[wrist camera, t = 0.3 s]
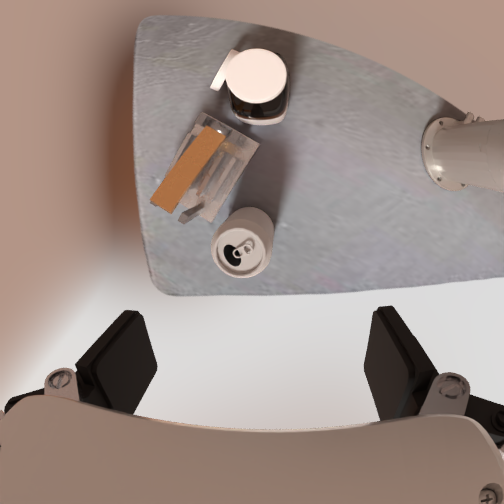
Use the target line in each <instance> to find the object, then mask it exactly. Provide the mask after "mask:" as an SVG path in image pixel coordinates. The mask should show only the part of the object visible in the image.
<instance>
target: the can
mask: <svg viewBox="0 0 504 504" xmlns="http://www.w3.org/2000/svg"><path fill="white" fill-rule="evenodd" d="M273 238H274V226H273V223H272V220H271V219H270V218H269V216H268V215H267V214H266V213H265V212H263V211H262V210H260V209H258V208H255V207H244V208H241V209H238V210H237V211H235V212H234V213H232V214H231V215H230V216H229V217H228V218H227V220H226V221H225V222H224V223H223V224H222V225H221V226H220V227H219V228H218V229H217V231H216V232H215V234H214V235H213V238H212V242H211V254H212V256H213V259H214V262H215V263H216V264H217V266H218V267H219V268H220V269H221V270H222V271H223V272H225V273H226V274H227V275H230V276H233V277H235V278H248V277H252V276H255V275H257V274H258V273H260V272H262V271H263V270H264V269H265V267H266V266H267V265H268V264H269V261H270V258H271V255H272V247H273Z"/></svg>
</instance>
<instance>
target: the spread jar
mask: <svg viewBox="0 0 504 504" xmlns="http://www.w3.org/2000/svg"><path fill="white" fill-rule="evenodd" d="M225 79H226V82H227V85H228V95H229V101H230V105H231V108H232V111H233V113H234V115H235V116H236V117H237V118H238V119H239V120H240V121H242V122H244V123H247V124H252V125H271V124H276V123H279V122H281V121H282V120H283V119H284V117H285V115H286V111H287V106H288V98H289V90H290V84H289V72H288V67H287V64H286V61H285V59H284V58H283V56H281V55H280V54H278V53H274V52H271V51H268V50H265V49H249V50H245V51H243V52H241V53H240V52H238V51H235V50H233V49H231V51H230V52H229V54H228V56H227V57H226V59H225V61H224V62H223V64H222V66H221V68H220V69H219V71H218V73H217V75H216V77H215V79H214V80H213V82H212V84H211V87H210V88H211V89H214V90H216V91H219V89H220V88H221V86H222V84H223V82H224V81H225Z"/></svg>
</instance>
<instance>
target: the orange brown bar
mask: <svg viewBox="0 0 504 504" xmlns="http://www.w3.org/2000/svg"><path fill="white" fill-rule="evenodd" d="M231 132H232V129H231V128H230V127H228V126H226V125H224V124H222V123H221V122H219V121H217V120H215V119H213V118H211V119H210V120H209V122H208V123H207V125H206V127H205V128H204V129H203V130H202V131H201V133H200V134H199V135H198V136H197V137H196V139H195V140H194V141H193V142H192V144H191V145H190V146H189V147H188V149H187V150H186V151H185V152H184V154H183V155H182V156H181V158H180V159H179V160H178V161H177V163H176V164H175V165H174V167H173V168H172V169H171V171H170V172H169V173H168V175H167V176H166V178H165V179H164V180H163V182H162V183H161V184H160V186H159V187H158V189H157V190H156V192H155V193H154V194H153V196H152V197H151V199H150V200H151V202H153V203H154V204H156V205H158V206H159V207H161V208H162V209H164V210H165V211H167V212H169V213H170V214H172V212H173V211H174V209H175V208H176V206H177V205H178V203H179V202H180V201H181V199H182V198H183V196H184V195H185V193H186V192H187V191H188V189H189V188H190V186H191V185H192V183H193V182H194V181H195V179H196V178H197V177H198V175H199V174H200V172H201V171H202V170H203V168H204V167H205V166H206V164H207V163H208V162H209V160H210V159H211V158H212V156H213V155H214V154H215V152H216V151H217V150H218V148H219V147H220V146H221V145H222V143H223V142H224V141H225V139H227V138H228V137H229V135H230V134H231Z"/></svg>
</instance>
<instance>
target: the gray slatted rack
mask: <svg viewBox="0 0 504 504" xmlns="http://www.w3.org/2000/svg"><path fill="white" fill-rule="evenodd" d="M211 118H213V117H211V116H209V115H207V114H205V113H202V112H201V113H200V115H199V116H198V118H197V119H196V121H195V123H196V124H195V126H194V128H193V129H192V131H191V133H188V134H187V136H186V138H185V139H184V141H183V143H182V145H181V146H180V148H179V150H178V152H177V154H176V155H175V157H174V159H173V161H172V163H171V165H170V167H169V168H168V170H167V172H166V174H165V176H167V175H168V173H169V172H170V171H171V169H172V168H173V167H174V165H175V164H176V163H177V161H178V160H179V159H180V158H181V156H182V155H183V154H184V152H185V151H186V150H187V149H188V147H189V146H190V145H191V144H192V142H193V141H194V140H195V139H196V137H197V136H198V135H199V134H200V133H201V131H202V130H203V129H204V128H205V127H206V125H207V123H208V122H209V120H210V119H211ZM213 119H215V118H213ZM215 120H216V119H215ZM217 121H218V120H217ZM219 122H220V121H219ZM221 123H222V122H221ZM222 124H224V123H222ZM224 125H226V124H224ZM226 126H227V125H226ZM228 127H229V126H228ZM230 128H231V127H230ZM231 129H232V132H231V134H230V135H229V137H228V138H227V139H225V141H224V142H223V143H222V145H221V146H220V147H219V148H218V150H217V151H216V152H215V154H214V155H213V156H212V158H211V159H210V160H209V162H208V163H207V164H206V166H205V167H204V168H203V170H202V171H201V172H200V174H199V175H198V177H197V178H196V179H195V181H194V182H193V183H192V185H191V186H190V188H189V189H188V191H187V192H186V193H185V195H184V196H183V198H182V199H181V201H180V202H179V203H181V204H182V205H184V206H186V207H187V208H189V209H188V210H186V211H184V212H183V213H182V214H181V216H180V217H179V219H178V221H179V222H181V223H182V224H186V223H187V222H189V221H190V220H192V219H193V218H195V217H196V216H198V215H200V216H202V217H203V218H205V219H206V220H208V221H210V222H213V220H214V218H215V217H216V215H217V213H218V212H219V210H220V208H221V207H222V205H223V203H224V202H225V200H226V198H227V197H228V195H229V193H230V192H231V190H232V189H233V187H234V185H235V184H236V182H237V180H238V179H239V177H240V176H241V174H242V172H243V171H244V169H245V168H246V166H247V164H248V163H249V161H250V160H251V158H252V156H253V155H254V153H255V152H256V150H257V149H258V147H259V146H260V144H259V143H257V142H255V141H254V140H252V139H250V138H248V137H247V136H245V135H243V134H242V133H240V132H238V131H236V130H234V129H233V128H231ZM150 203H151V204H153V205H154V206H158V205H156V204H154V203H153V202H150Z"/></svg>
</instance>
